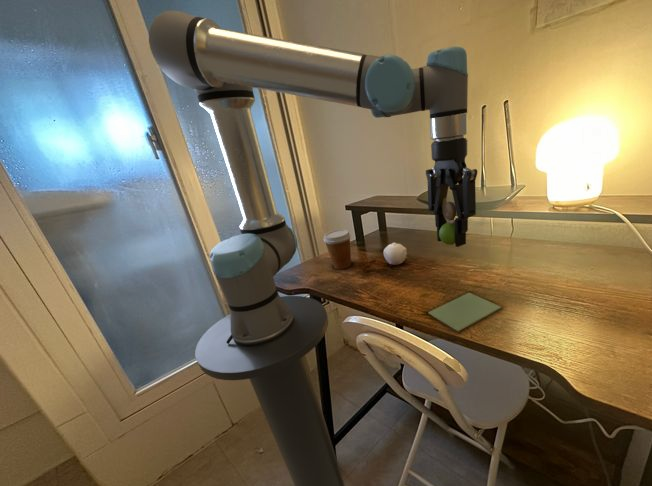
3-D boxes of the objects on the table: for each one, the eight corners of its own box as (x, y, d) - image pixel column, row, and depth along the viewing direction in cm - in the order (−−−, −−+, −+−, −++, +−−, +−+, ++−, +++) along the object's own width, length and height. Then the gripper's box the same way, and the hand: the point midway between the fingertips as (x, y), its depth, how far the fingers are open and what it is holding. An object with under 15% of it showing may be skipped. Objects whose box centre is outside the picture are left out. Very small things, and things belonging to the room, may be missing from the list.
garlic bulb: (407, 258, 106) (405, 237, 103) (408, 267, 100) (406, 245, 96) (385, 260, 107) (382, 240, 104) (384, 269, 101) (381, 247, 97)
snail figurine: (453, 237, 78) (452, 190, 73) (466, 244, 72) (466, 194, 67) (434, 241, 77) (432, 194, 72) (445, 249, 71) (444, 198, 66)
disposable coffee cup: (345, 272, 103) (338, 239, 98) (324, 269, 108) (316, 237, 103) (360, 261, 110) (355, 229, 105) (340, 259, 115) (334, 228, 110)
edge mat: (457, 332, 66) (457, 330, 66) (428, 313, 74) (427, 312, 74) (501, 308, 71) (501, 306, 71) (469, 293, 79) (469, 292, 79)
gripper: (497, 133, 58) (492, 246, 68) (432, 139, 73) (436, 231, 83) (470, 138, 55) (469, 256, 65) (408, 143, 70) (415, 239, 80)
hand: (451, 242), depth 74 cm, fingers closed on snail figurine, 5 cm apart
